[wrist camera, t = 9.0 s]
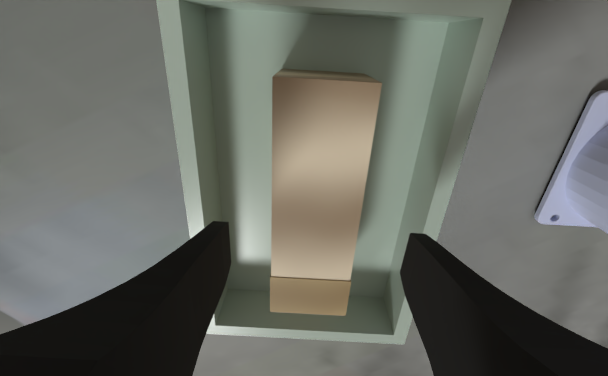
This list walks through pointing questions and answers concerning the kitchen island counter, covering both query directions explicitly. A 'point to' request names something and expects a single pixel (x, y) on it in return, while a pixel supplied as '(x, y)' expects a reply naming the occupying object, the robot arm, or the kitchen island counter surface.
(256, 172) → the bin
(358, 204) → the tan long block
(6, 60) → the kitchen island counter surface
